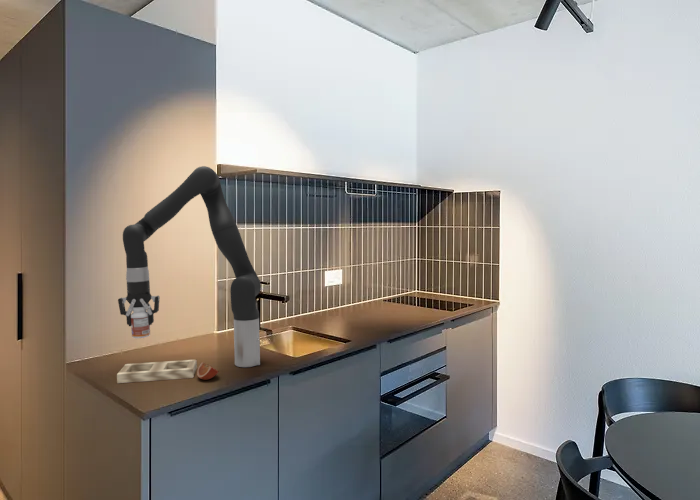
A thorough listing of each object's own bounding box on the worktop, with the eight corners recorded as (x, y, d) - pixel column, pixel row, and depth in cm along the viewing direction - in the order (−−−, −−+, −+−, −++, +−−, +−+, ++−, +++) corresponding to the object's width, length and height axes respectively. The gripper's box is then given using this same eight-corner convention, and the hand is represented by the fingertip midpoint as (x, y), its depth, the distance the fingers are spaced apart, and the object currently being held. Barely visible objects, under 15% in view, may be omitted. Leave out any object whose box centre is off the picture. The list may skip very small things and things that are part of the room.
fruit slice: (193, 377, 160) (193, 363, 160) (212, 373, 164) (212, 359, 164) (203, 384, 154) (202, 369, 153) (222, 379, 158) (222, 365, 157)
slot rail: (196, 367, 170) (196, 359, 170) (193, 377, 159) (192, 369, 159) (126, 372, 165) (125, 364, 165) (117, 383, 155) (116, 374, 154)
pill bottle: (135, 334, 173) (133, 305, 172) (152, 333, 174) (151, 304, 173) (129, 339, 167) (127, 308, 166) (147, 338, 168) (145, 307, 167)
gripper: (161, 277, 174) (163, 321, 175) (119, 279, 171) (122, 324, 172) (157, 280, 167) (159, 326, 168) (113, 282, 164) (116, 329, 165)
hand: (140, 325), depth 170 cm, fingers closed on pill bottle, 6 cm apart
